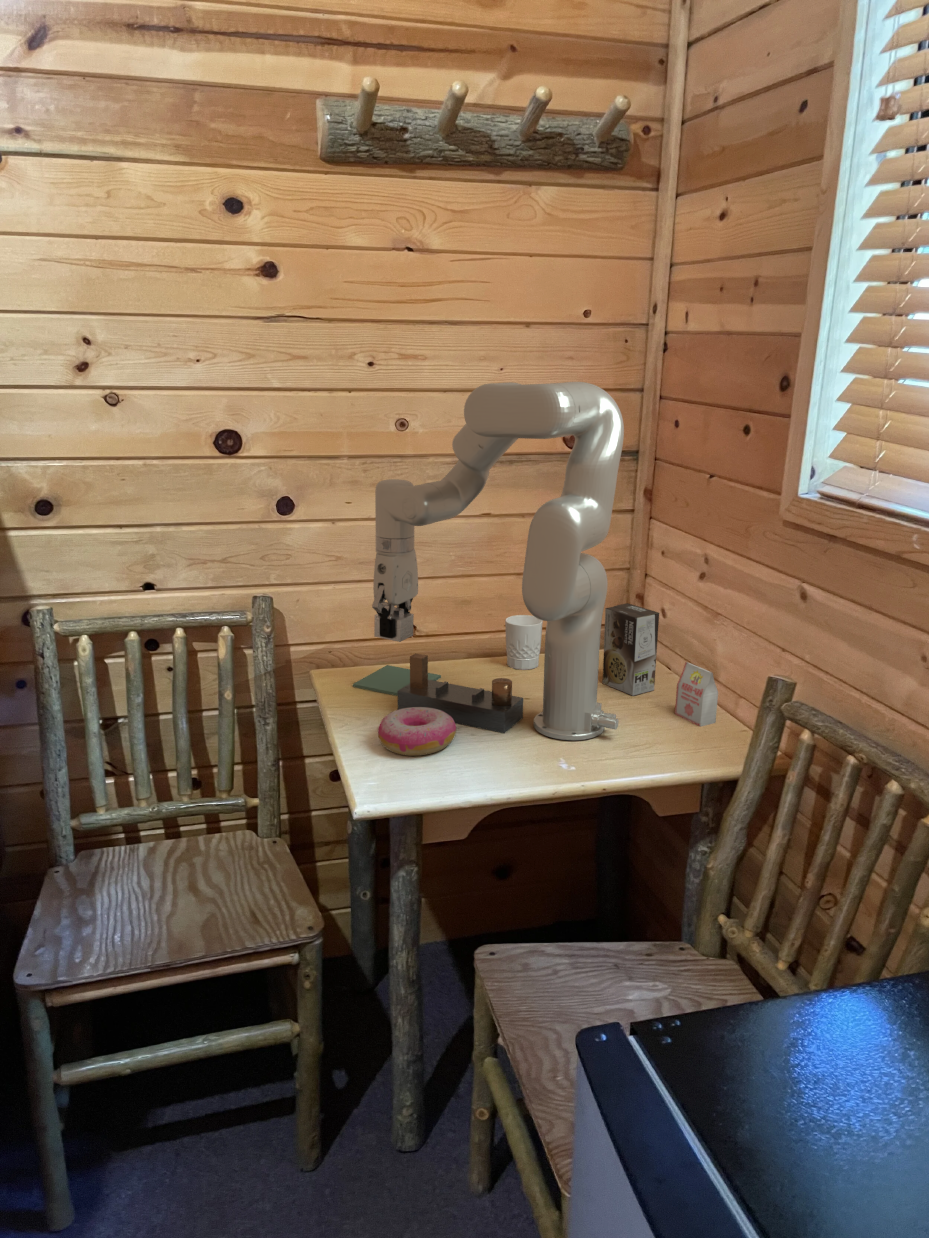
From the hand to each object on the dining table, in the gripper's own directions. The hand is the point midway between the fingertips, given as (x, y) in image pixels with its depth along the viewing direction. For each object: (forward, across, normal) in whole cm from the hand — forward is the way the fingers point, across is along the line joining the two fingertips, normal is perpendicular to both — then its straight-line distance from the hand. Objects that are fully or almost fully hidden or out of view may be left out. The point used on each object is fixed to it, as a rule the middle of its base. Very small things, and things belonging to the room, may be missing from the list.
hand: (394, 632), depth 184 cm
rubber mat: (+11, 0, -1) cm, 11 cm away
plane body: (+10, -9, -20) cm, 24 cm away
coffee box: (+10, +20, -43) cm, 48 cm away
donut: (+11, -24, -19) cm, 32 cm away
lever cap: (+1, 0, 0) cm, 1 cm away
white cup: (+10, +22, -19) cm, 31 cm away
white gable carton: (+10, +10, -59) cm, 60 cm away
